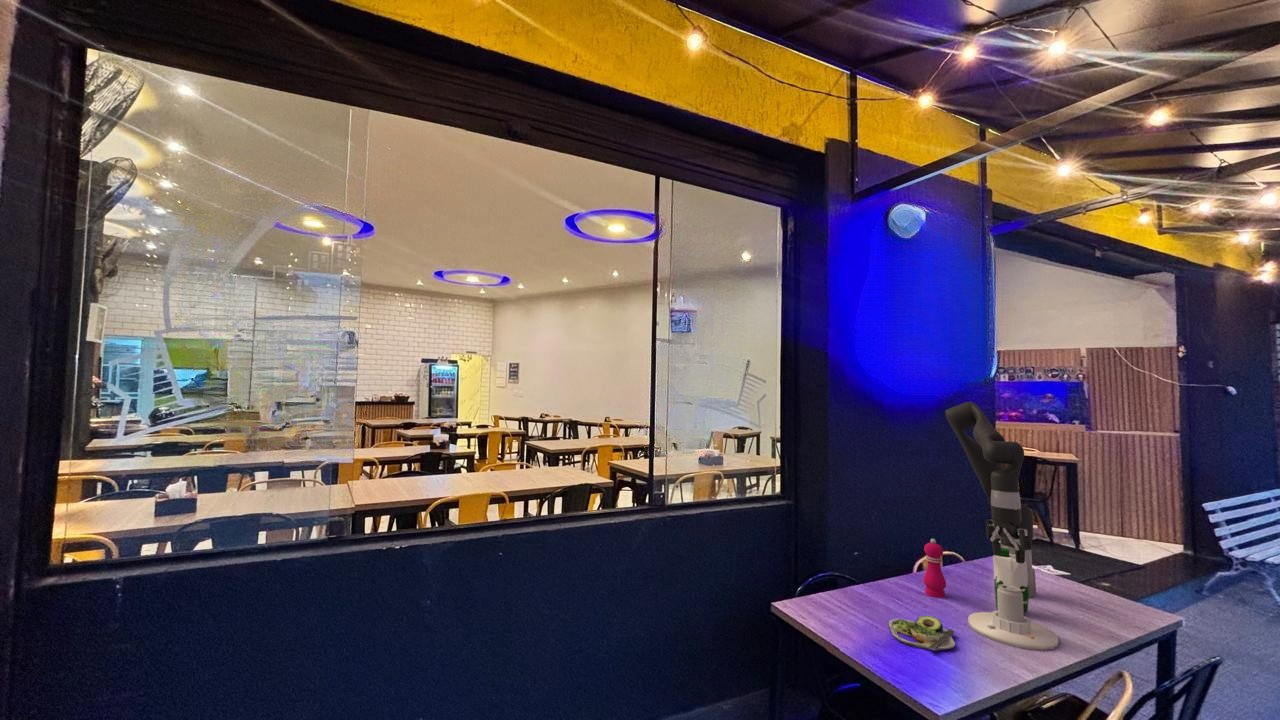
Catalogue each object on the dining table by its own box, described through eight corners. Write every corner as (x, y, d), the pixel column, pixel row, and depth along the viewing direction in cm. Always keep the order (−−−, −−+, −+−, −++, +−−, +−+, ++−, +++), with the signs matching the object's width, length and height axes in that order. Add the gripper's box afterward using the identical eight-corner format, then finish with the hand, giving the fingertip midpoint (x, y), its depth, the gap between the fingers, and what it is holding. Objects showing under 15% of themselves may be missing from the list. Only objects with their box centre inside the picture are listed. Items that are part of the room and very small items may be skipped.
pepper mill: (919, 592, 182) (917, 537, 184) (932, 589, 185) (930, 535, 187) (938, 599, 175) (936, 542, 177) (951, 596, 178) (949, 540, 180)
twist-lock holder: (1014, 616, 162) (1013, 602, 163) (1079, 649, 141) (1078, 632, 141) (952, 617, 160) (951, 603, 161) (1008, 651, 139) (1007, 634, 139)
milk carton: (999, 603, 173) (997, 545, 175) (1031, 612, 166) (1028, 551, 168) (992, 610, 167) (990, 549, 169) (1025, 619, 160) (1022, 556, 162)
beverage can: (1000, 621, 155) (999, 581, 156) (1026, 628, 150) (1024, 587, 151) (996, 627, 150) (994, 586, 152) (1022, 634, 146) (1020, 592, 147)
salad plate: (967, 662, 133) (966, 644, 133) (893, 649, 139) (892, 632, 140) (952, 632, 150) (951, 616, 151) (887, 621, 157) (886, 606, 158)
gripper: (977, 500, 161) (979, 551, 159) (1014, 510, 147) (1016, 566, 145) (998, 500, 161) (1000, 551, 160) (1037, 510, 147) (1040, 565, 146)
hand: (1008, 558), depth 153 cm, fingers open, 8 cm apart
